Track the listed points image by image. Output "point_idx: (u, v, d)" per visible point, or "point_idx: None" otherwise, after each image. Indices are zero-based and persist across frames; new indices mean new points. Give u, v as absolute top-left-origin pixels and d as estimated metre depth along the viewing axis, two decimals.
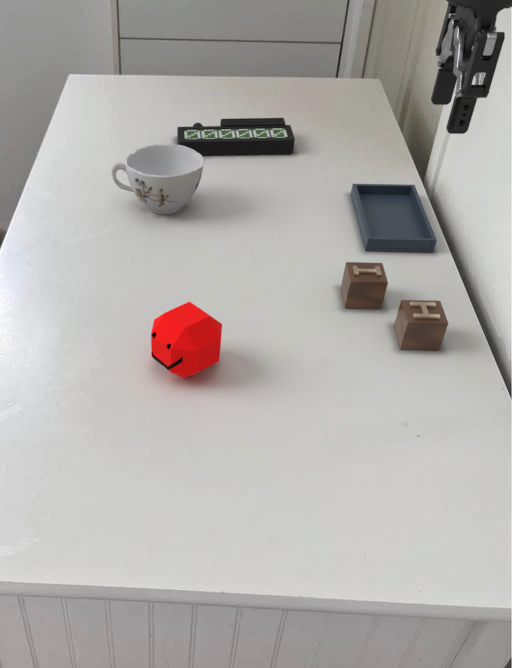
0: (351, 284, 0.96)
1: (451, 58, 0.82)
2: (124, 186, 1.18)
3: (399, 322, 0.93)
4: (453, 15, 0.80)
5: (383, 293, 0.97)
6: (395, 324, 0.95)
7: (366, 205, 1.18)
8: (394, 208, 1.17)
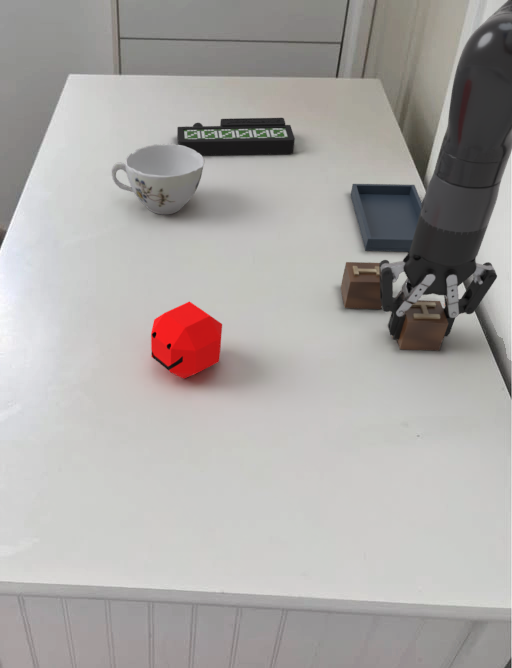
0: (351, 284, 0.96)
1: None
2: (124, 186, 1.18)
3: None
4: None
5: None
6: None
7: (366, 205, 1.18)
8: (394, 208, 1.17)
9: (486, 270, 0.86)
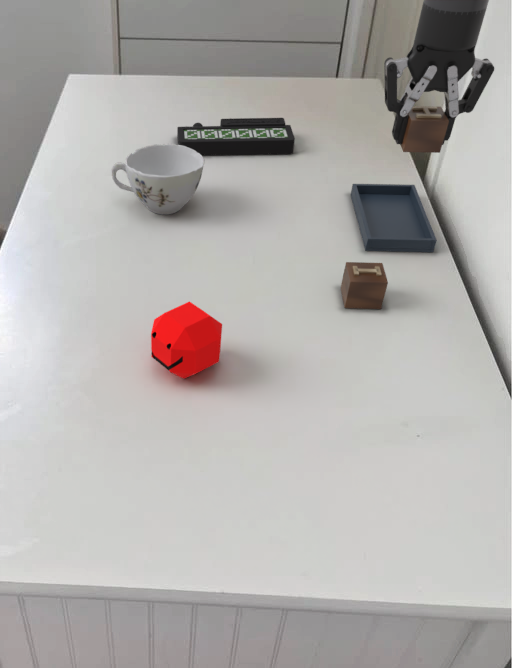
0: (351, 284, 0.96)
1: None
2: (124, 186, 1.18)
3: None
4: None
5: (383, 293, 0.97)
6: None
7: (366, 205, 1.18)
8: (394, 208, 1.17)
9: (484, 63, 0.92)
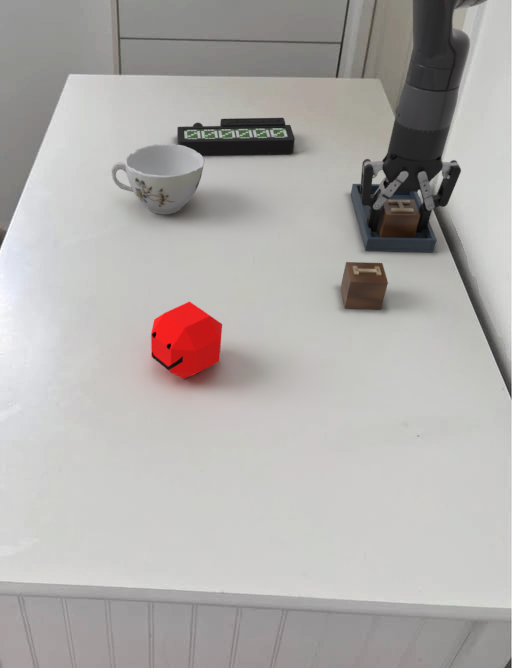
0: (351, 284, 0.96)
1: None
2: (124, 186, 1.18)
3: (380, 218, 1.11)
4: None
5: (383, 293, 0.97)
6: None
7: (366, 205, 1.18)
8: None
9: (451, 166, 1.03)
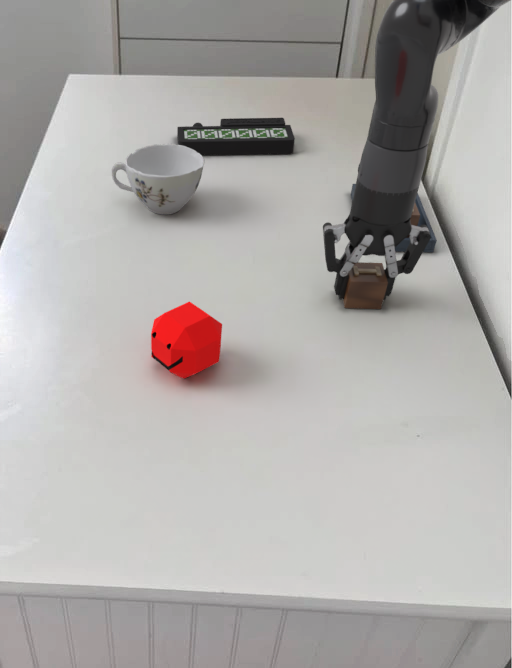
0: (351, 284, 0.96)
1: None
2: (124, 186, 1.18)
3: None
4: None
5: (383, 293, 0.97)
6: None
7: None
8: None
9: (421, 231, 0.92)
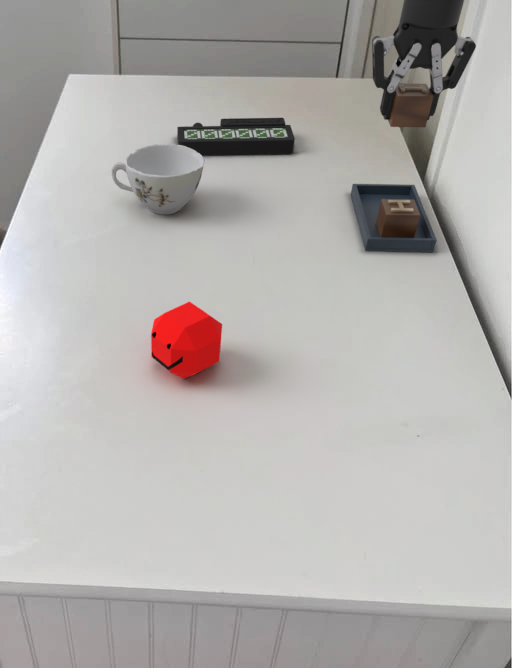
0: (398, 99, 1.01)
1: None
2: (124, 186, 1.18)
3: (380, 218, 1.11)
4: None
5: (428, 109, 1.02)
6: (376, 221, 1.13)
7: (366, 205, 1.18)
8: None
9: (466, 41, 0.97)
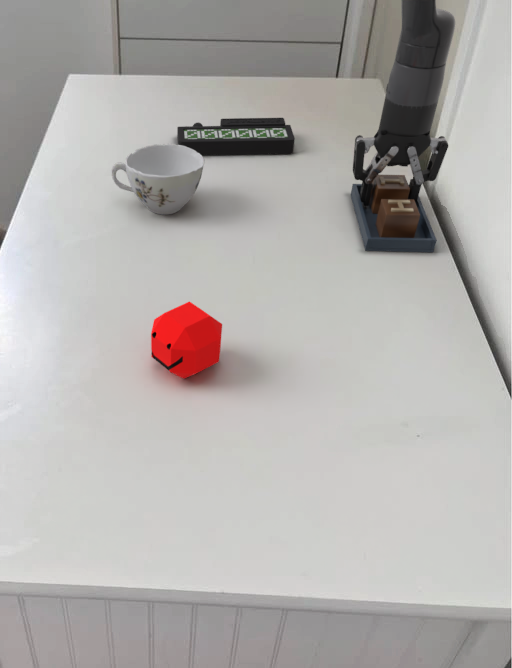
0: (378, 191, 1.13)
1: None
2: (124, 186, 1.18)
3: (380, 218, 1.11)
4: None
5: None
6: (376, 221, 1.13)
7: None
8: None
9: (439, 141, 1.09)
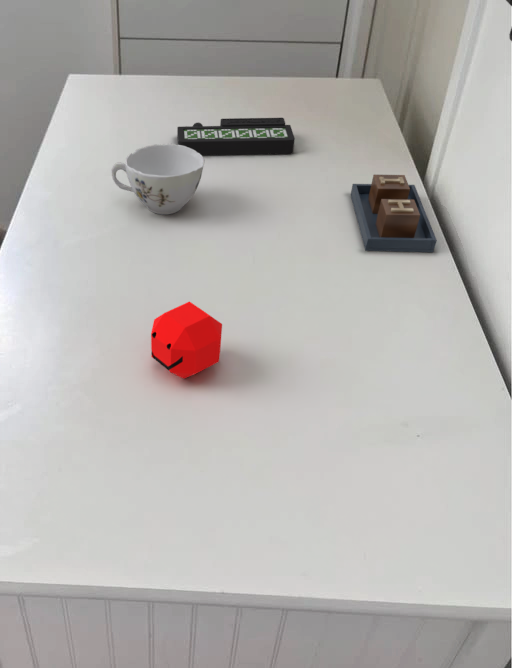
0: (378, 191, 1.13)
1: None
2: (124, 186, 1.18)
3: (380, 218, 1.11)
4: None
5: None
6: (376, 221, 1.13)
7: (366, 205, 1.18)
8: None
9: None
